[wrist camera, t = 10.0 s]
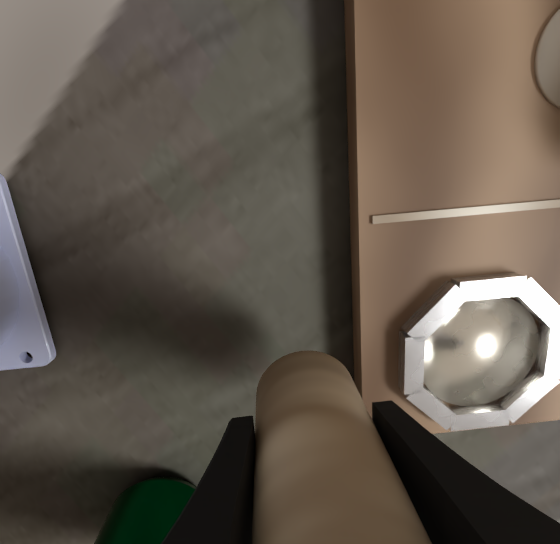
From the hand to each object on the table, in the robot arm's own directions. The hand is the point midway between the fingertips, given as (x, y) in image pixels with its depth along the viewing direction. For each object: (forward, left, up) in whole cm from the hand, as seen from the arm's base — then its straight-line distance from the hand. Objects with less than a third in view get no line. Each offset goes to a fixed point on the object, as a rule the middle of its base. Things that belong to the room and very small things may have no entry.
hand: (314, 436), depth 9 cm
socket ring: (+8, 0, -4) cm, 8 cm away
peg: (0, 0, -2) cm, 2 cm away
